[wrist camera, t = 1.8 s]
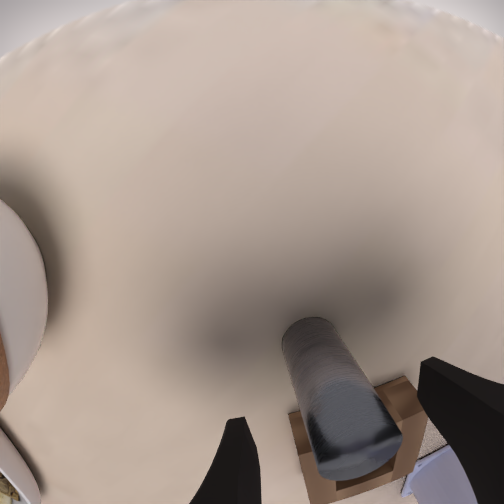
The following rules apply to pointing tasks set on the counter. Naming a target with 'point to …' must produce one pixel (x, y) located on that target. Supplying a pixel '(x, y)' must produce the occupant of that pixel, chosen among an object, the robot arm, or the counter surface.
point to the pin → (337, 403)
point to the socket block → (401, 464)
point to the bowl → (15, 476)
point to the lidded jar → (19, 300)
